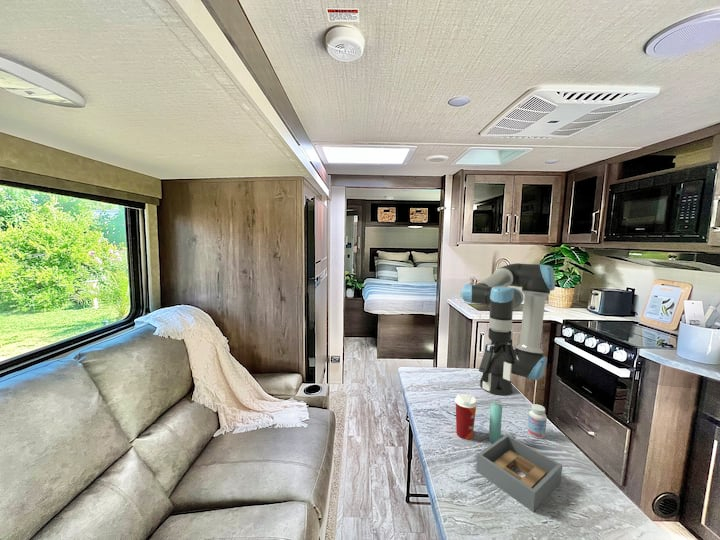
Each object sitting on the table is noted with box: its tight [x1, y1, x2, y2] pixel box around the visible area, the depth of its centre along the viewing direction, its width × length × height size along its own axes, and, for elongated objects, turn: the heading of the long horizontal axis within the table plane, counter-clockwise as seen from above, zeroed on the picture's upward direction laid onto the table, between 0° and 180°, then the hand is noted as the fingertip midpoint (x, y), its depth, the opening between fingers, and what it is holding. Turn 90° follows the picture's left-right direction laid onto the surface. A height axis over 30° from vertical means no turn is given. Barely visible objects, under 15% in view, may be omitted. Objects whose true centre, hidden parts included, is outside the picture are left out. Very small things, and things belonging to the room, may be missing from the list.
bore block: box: [493, 450, 547, 489], centre depth 96 cm, size 12×12×3 cm
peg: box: [488, 402, 503, 444], centre depth 113 cm, size 4×4×14 cm
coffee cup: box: [454, 393, 478, 441], centre depth 116 cm, size 8×8×15 cm
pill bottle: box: [527, 403, 548, 440], centre depth 117 cm, size 6×6×11 cm
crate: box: [476, 433, 563, 513], centre depth 96 cm, size 18×18×6 cm
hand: (496, 384), depth 111 cm, fingers open, 13 cm apart
